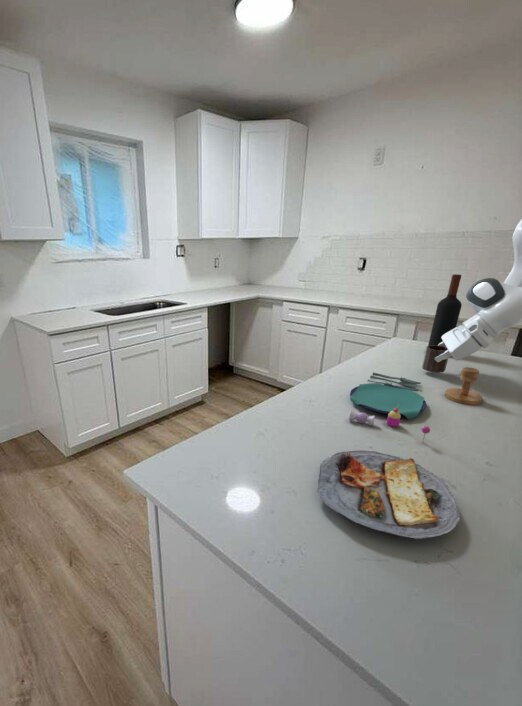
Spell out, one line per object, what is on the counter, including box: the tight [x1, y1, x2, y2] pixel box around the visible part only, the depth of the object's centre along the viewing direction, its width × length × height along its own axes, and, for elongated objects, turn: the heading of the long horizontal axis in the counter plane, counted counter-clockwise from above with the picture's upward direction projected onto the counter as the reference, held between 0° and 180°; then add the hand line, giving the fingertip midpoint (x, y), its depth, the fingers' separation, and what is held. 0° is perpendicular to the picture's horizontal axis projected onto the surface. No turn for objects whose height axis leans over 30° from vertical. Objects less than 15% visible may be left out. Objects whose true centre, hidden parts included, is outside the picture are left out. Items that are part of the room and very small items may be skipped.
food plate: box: [316, 450, 461, 540], centre depth 69 cm, size 25×23×4 cm
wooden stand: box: [444, 366, 483, 406], centre depth 105 cm, size 9×9×9 cm
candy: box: [348, 405, 431, 444], centre depth 92 cm, size 18×8×6 cm, turn 57°
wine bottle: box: [427, 273, 463, 346], centre depth 138 cm, size 8×8×30 cm
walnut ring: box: [421, 345, 449, 373], centre depth 122 cm, size 7×7×8 cm
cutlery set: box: [349, 372, 427, 420], centre depth 109 cm, size 20×30×2 cm, turn 143°
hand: (434, 356), depth 122 cm, fingers closed on walnut ring, 6 cm apart
